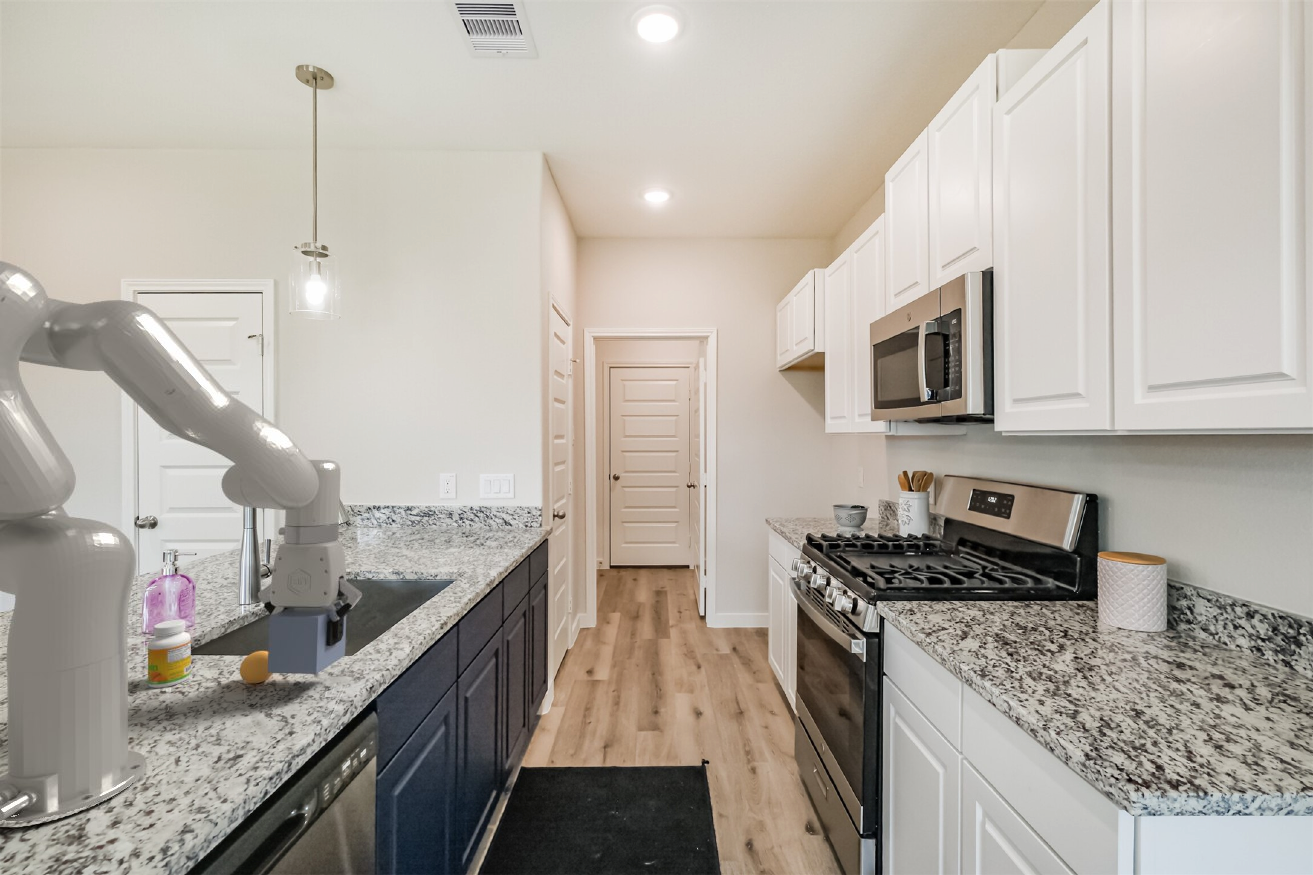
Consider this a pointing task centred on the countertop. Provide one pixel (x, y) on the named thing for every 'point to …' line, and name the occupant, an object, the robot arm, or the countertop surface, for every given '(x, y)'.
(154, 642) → the supplement bottle
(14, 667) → the robot arm
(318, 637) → the slate blue rectangular box
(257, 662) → the egg
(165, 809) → the countertop surface
